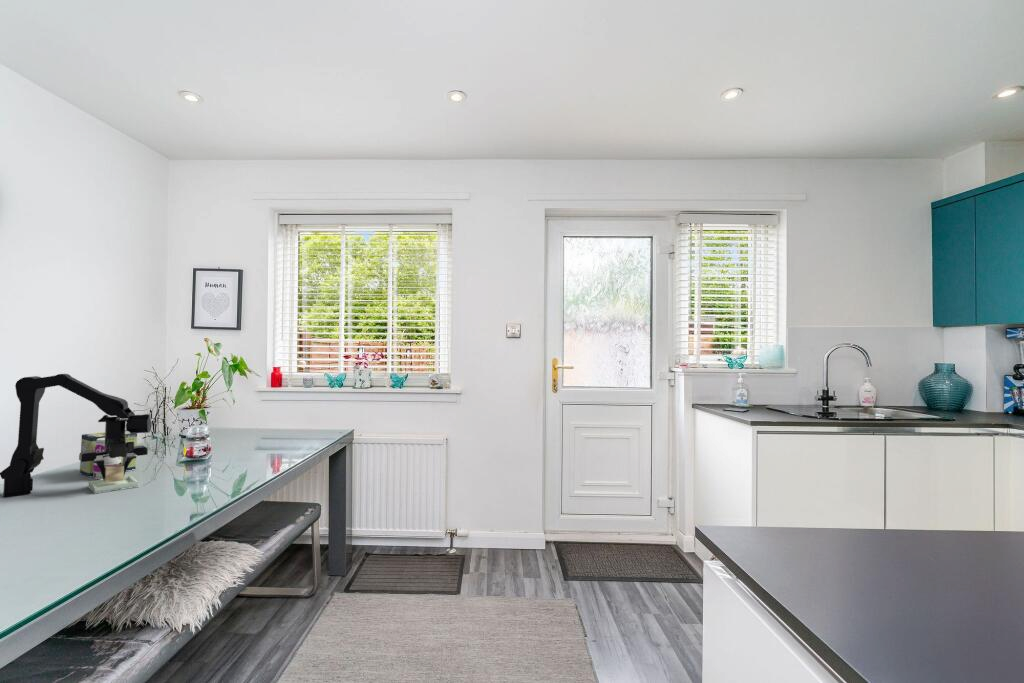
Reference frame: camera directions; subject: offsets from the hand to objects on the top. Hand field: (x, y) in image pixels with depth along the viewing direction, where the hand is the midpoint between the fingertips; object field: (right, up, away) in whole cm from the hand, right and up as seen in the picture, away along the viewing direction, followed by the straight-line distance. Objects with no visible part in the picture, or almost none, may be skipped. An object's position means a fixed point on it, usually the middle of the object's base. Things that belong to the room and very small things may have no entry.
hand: (113, 477), depth 177 cm
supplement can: (-13, -4, +13) cm, 18 cm away
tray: (0, -4, 0) cm, 4 cm away
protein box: (-20, -4, +22) cm, 29 cm away
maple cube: (0, -1, 0) cm, 1 cm away
